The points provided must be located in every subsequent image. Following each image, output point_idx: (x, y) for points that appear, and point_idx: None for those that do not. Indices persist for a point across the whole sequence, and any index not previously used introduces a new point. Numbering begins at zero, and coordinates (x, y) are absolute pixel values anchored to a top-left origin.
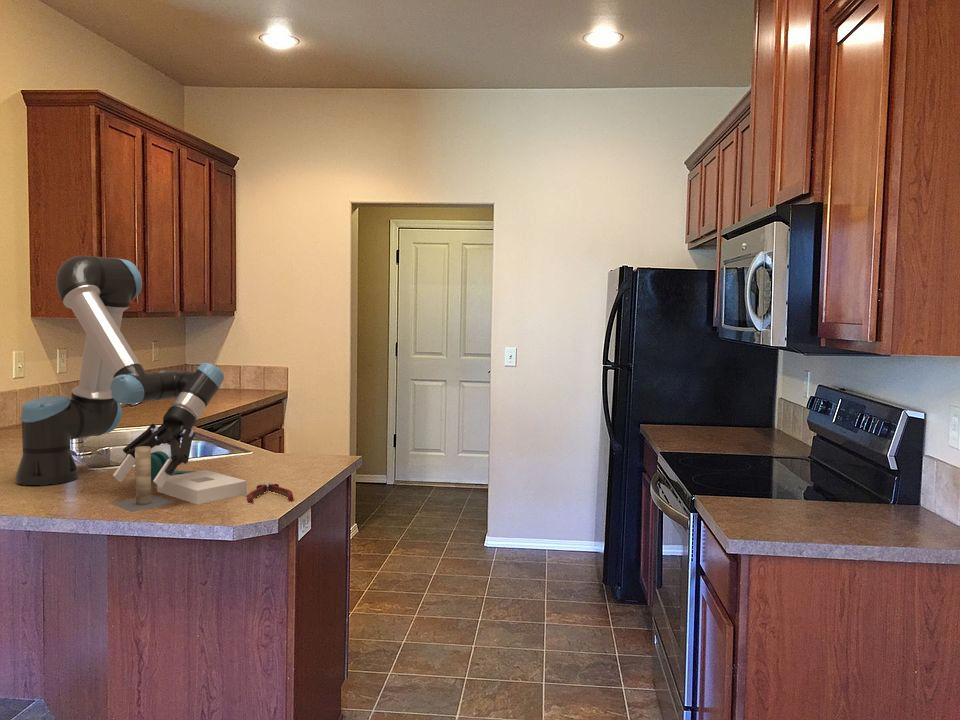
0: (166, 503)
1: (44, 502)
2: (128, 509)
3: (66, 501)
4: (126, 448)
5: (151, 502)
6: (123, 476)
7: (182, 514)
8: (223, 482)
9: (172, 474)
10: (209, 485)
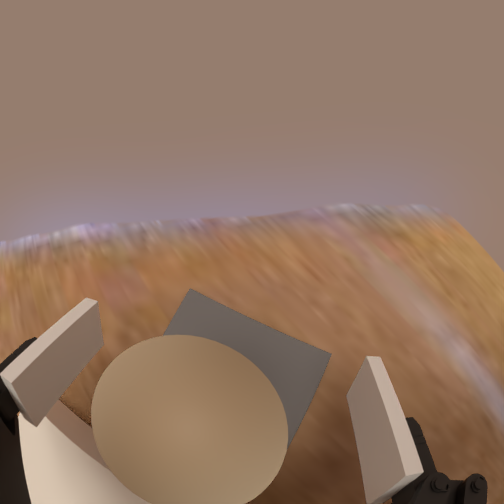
0: None
1: (483, 311)
2: (219, 308)
3: (460, 339)
4: (473, 493)
5: None
6: (354, 406)
7: (57, 314)
8: None
9: None
10: (33, 466)
